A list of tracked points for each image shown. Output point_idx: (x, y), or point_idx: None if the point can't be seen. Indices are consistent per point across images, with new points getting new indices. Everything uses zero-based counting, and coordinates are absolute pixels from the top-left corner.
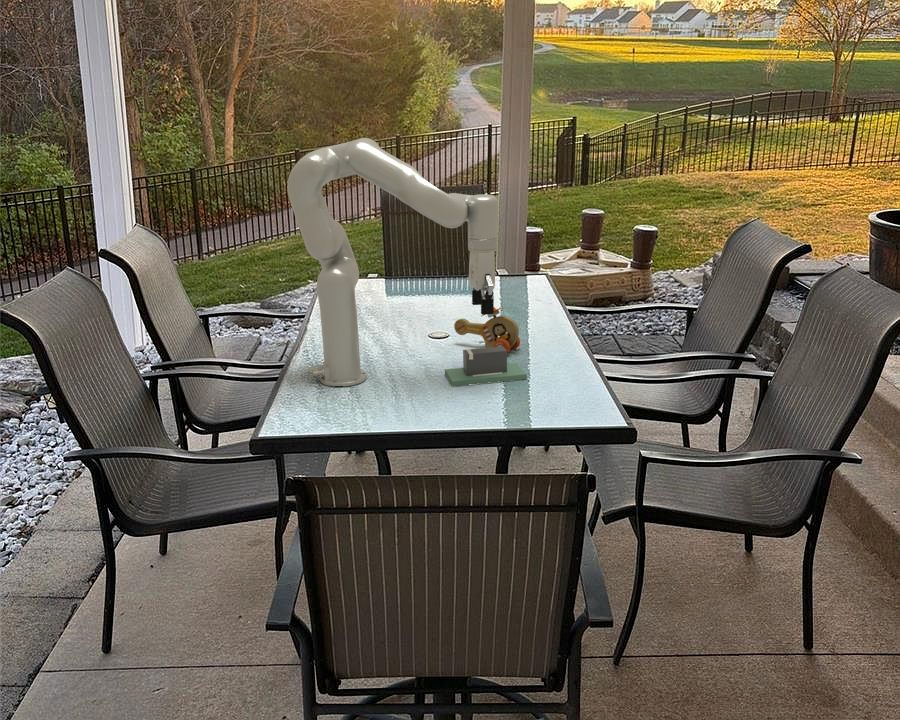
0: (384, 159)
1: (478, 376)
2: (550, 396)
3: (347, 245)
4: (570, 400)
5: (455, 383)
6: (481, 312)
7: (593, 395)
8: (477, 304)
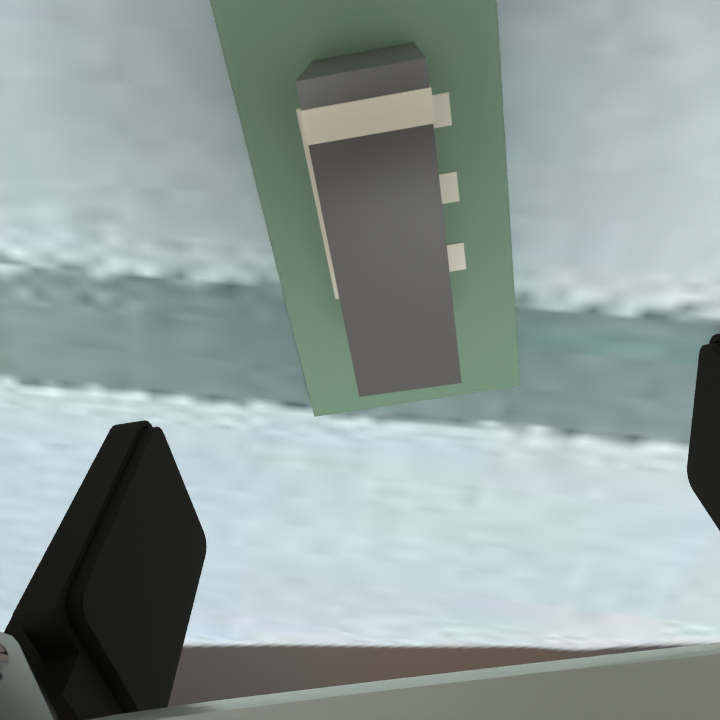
0: None
1: (294, 147)
2: (76, 469)
3: None
4: (34, 531)
5: None
6: (108, 437)
7: None
8: (697, 401)
